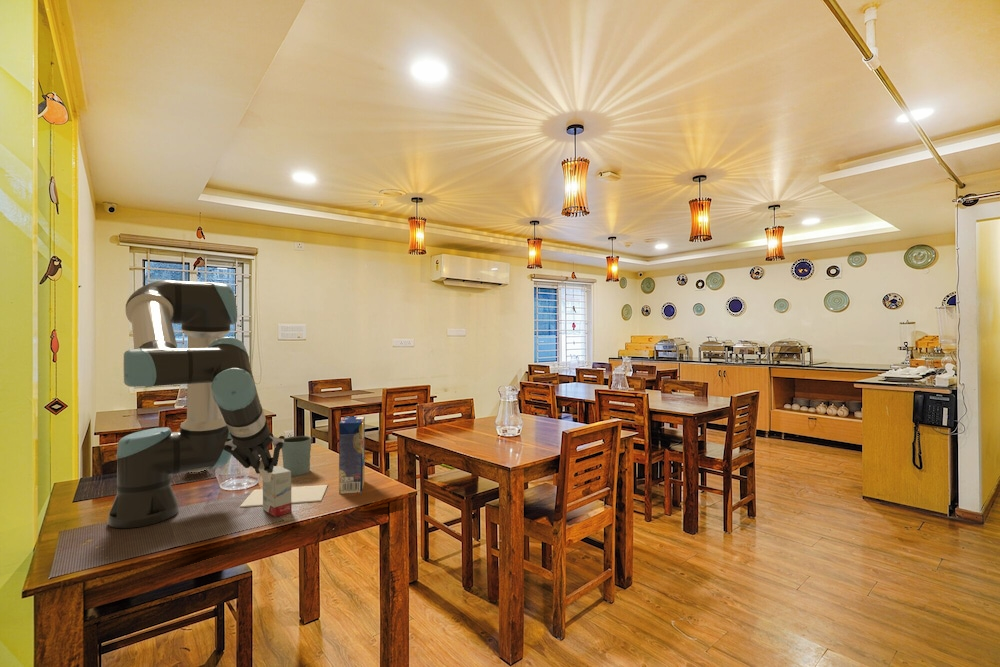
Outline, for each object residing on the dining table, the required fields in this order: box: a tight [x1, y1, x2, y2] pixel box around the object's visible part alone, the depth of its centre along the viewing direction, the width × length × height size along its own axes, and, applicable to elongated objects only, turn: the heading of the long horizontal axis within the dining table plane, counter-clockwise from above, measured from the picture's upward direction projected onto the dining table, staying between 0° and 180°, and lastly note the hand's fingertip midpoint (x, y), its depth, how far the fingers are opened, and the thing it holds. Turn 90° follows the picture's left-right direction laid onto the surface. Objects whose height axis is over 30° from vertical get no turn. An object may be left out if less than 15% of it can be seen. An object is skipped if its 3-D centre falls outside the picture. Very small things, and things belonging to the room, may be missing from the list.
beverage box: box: [338, 415, 366, 495], centre depth 151 cm, size 7×11×22 cm, turn 12°
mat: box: [239, 484, 329, 508], centre depth 143 cm, size 22×14×1 cm, turn 103°
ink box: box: [262, 465, 292, 518], centre depth 131 cm, size 9×5×12 cm, turn 47°
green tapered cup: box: [280, 435, 312, 477], centre depth 167 cm, size 10×10×12 cm
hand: (267, 477), depth 120 cm, fingers closed
